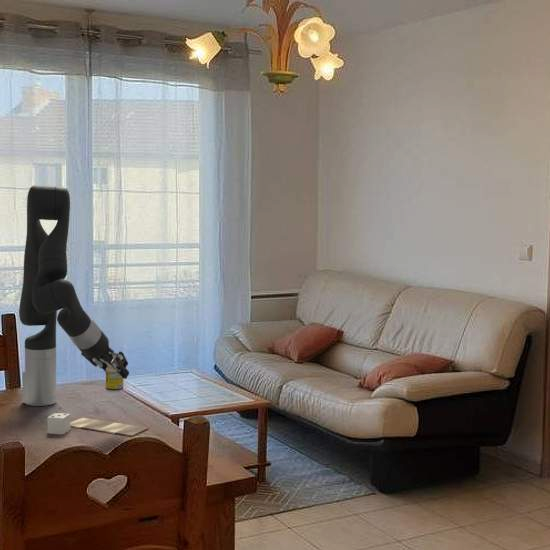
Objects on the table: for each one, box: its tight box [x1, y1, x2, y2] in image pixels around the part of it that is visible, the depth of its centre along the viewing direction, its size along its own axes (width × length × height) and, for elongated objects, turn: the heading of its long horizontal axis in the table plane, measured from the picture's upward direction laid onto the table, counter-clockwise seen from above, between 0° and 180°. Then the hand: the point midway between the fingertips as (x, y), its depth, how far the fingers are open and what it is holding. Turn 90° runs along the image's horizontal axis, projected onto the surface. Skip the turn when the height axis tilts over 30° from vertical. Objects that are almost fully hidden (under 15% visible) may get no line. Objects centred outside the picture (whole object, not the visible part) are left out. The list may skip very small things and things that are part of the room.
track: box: [70, 417, 149, 438], centre depth 224 cm, size 22×8×1 cm, turn 66°
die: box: [47, 412, 71, 435], centre depth 219 cm, size 4×4×5 cm
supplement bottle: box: [105, 358, 124, 393], centre depth 222 cm, size 5×5×8 cm
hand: (119, 374), depth 223 cm, fingers closed on supplement bottle, 4 cm apart
